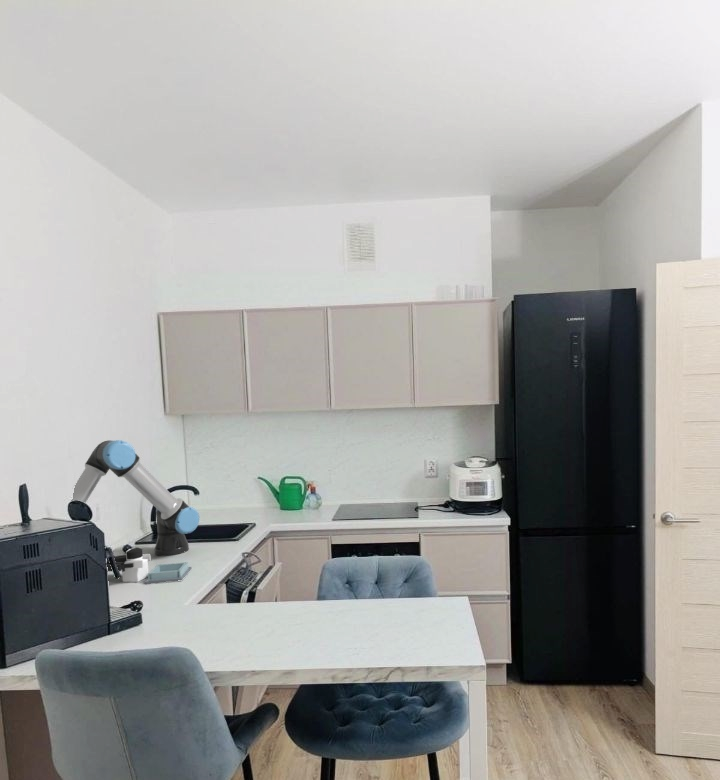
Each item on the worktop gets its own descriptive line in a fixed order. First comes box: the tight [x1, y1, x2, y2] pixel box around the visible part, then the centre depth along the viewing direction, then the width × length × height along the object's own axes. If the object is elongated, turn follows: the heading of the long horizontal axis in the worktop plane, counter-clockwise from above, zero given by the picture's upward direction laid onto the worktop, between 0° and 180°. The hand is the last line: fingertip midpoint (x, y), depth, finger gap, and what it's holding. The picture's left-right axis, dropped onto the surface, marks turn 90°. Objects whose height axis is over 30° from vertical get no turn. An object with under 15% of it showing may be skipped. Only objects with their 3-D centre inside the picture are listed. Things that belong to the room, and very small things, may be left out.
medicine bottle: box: [121, 547, 150, 583], centre depth 234 cm, size 7×7×12 cm
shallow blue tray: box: [144, 561, 192, 585], centre depth 235 cm, size 16×14×4 cm
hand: (146, 560), depth 234 cm, fingers closed on medicine bottle, 9 cm apart
